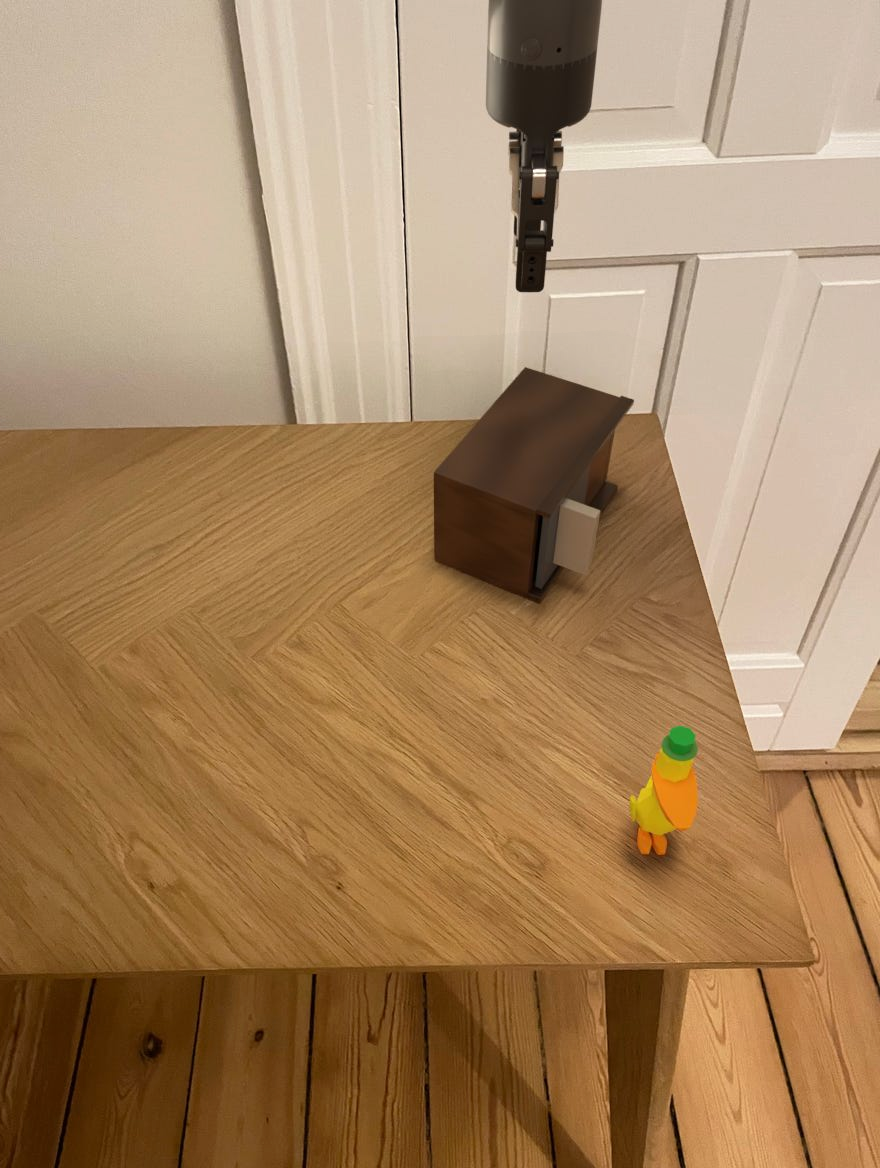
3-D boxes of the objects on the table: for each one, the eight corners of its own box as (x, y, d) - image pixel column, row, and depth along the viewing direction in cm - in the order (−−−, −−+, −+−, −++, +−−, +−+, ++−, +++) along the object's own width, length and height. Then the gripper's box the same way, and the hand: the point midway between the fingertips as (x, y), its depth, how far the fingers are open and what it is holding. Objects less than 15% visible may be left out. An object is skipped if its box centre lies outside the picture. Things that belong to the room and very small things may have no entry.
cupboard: (617, 491, 89) (634, 399, 81) (539, 604, 81) (550, 514, 73) (518, 455, 93) (525, 364, 85) (434, 560, 84) (433, 470, 77)
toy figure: (685, 890, 64) (726, 797, 55) (631, 890, 65) (662, 798, 55) (669, 800, 69) (704, 701, 59) (618, 801, 69) (645, 701, 60)
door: (612, 545, 84) (626, 470, 77) (574, 602, 79) (586, 528, 73) (573, 530, 85) (584, 455, 78) (534, 586, 81) (543, 512, 74)
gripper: (606, 80, 61) (579, 310, 74) (591, 0, 71) (570, 218, 83) (487, 82, 62) (481, 310, 74) (487, 3, 71) (481, 218, 84)
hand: (527, 261), depth 79 cm, fingers open, 8 cm apart
